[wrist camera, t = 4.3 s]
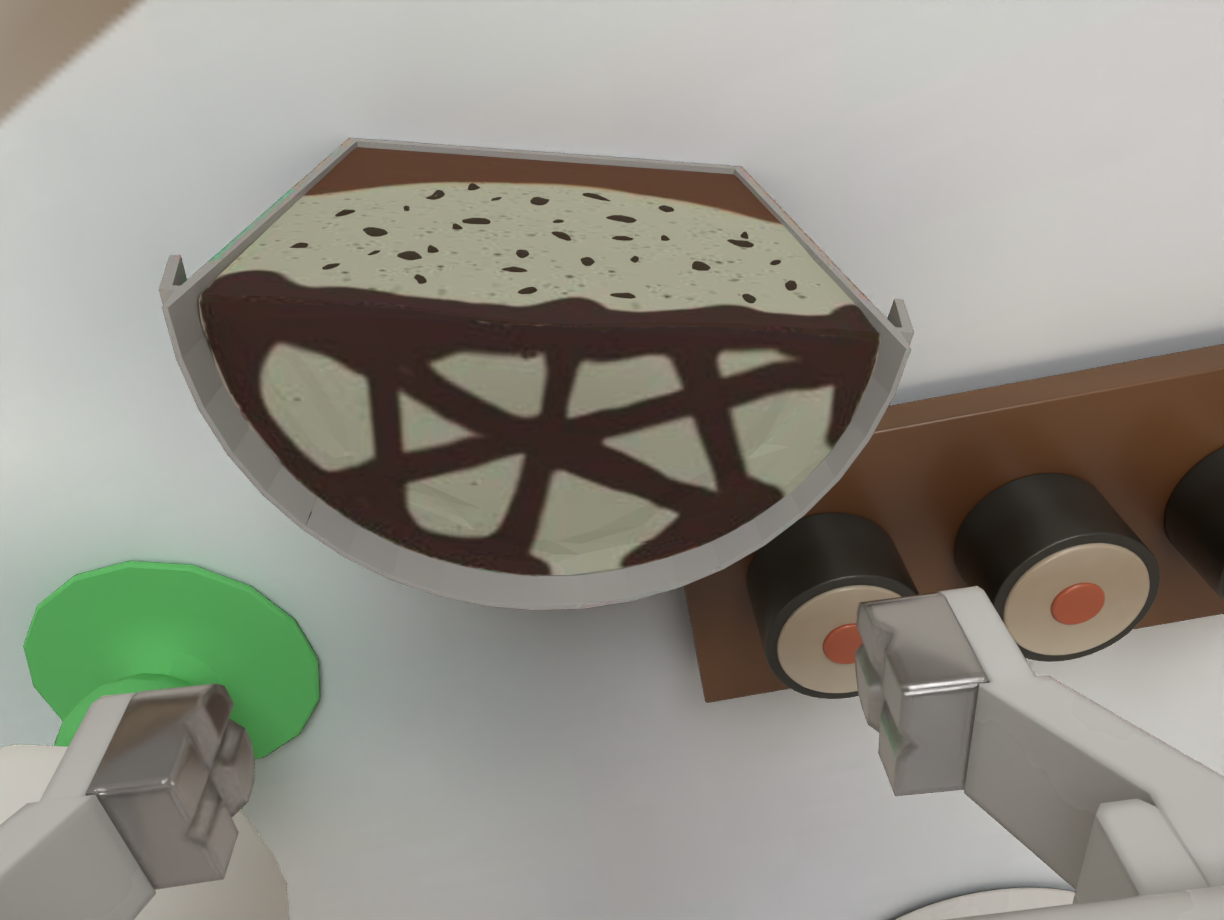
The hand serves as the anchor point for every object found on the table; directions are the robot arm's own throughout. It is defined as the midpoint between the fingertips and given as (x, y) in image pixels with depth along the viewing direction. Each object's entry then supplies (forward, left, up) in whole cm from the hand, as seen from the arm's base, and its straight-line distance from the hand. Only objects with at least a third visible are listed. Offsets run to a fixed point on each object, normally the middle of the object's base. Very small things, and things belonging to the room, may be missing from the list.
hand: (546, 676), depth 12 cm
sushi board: (-11, -11, -14) cm, 21 cm away
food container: (0, 0, -15) cm, 15 cm away
